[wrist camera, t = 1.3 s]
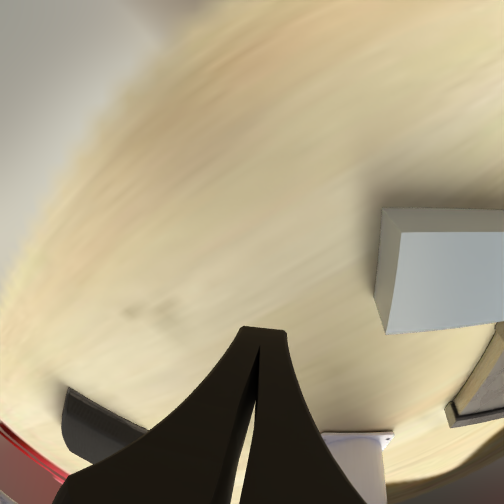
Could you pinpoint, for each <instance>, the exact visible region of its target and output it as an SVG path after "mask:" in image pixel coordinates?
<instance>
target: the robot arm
mask: <svg viewBox="0 0 504 504" xmlns="http://www.w3.org/2000/svg"><path fill="white" fill-rule="evenodd" d="M255 400H256V403H255ZM254 404H255V421H254V431H253V437H252V442H251V447H250V453H249V458H248V463H247V468H246V473H245V478H244V483H243V488H242V493H241V497H240V502H239V504H387V496H386V484H385V473H384V464H383V455H382V451H383V450H384V449H385V447H386V446H387V445H388V444H389V442H390V441H391V440H392V438H393V437H394V432H372V433H322V434H320V432H319V430H318V428H317V426H316V424H315V422H314V420H313V418H312V416H311V414H310V412H309V409H308V407H307V404H306V402H305V400H304V397H303V395H302V392H301V389H300V386H299V384H298V381H297V378H296V375H295V372H294V368H293V365H292V361H291V357H290V353H289V348H288V342H287V333H286V332H285V331H284V330H276V329H267V328H258V327H249V326H243V327H241V328H240V329H239V331H238V333H237V335H236V337H235V338H234V340H233V342H232V343H231V345H230V346H229V348H228V349H227V351H226V352H225V354H224V355H223V356H222V358H221V359H220V360H219V362H218V363H217V364H216V365H215V367H214V368H213V369H212V371H211V372H210V373H209V374H208V375H207V377H206V378H205V379H204V380H203V381H202V382H201V383H200V384H199V386H198V387H197V388H196V389H195V390H194V391H193V392H192V393H191V394H190V395H189V396H188V397H187V398H186V399H185V400H184V401H183V402H182V403H181V404H180V405H179V406H178V407H177V408H176V409H175V410H174V411H172V412H171V413H170V414H169V415H168V416H167V417H166V418H164V419H163V420H162V421H161V422H159V423H158V424H157V425H156V426H154V427H153V428H152V429H150V430H149V431H148V432H146V433H145V434H144V435H142V436H141V437H139V438H138V439H137V440H135V441H133V442H132V443H130V444H129V445H127V446H125V447H124V448H122V449H121V450H119V451H117V452H116V453H114V454H112V455H111V456H109V457H107V458H105V459H103V460H101V461H99V462H97V463H95V464H93V465H91V466H89V467H87V468H85V469H82V470H80V471H78V472H76V473H74V474H71V475H69V476H68V477H67V479H66V480H65V482H64V483H63V485H62V486H61V488H60V489H59V491H58V492H57V495H56V496H55V499H54V501H53V503H52V504H230V502H231V497H232V492H233V486H234V481H235V476H236V470H237V466H238V462H239V458H240V454H241V451H242V447H243V444H244V440H245V437H246V433H247V430H248V426H249V423H250V419H251V415H252V412H253V408H254ZM0 504H18V503H16V502H15V501H14V500H12V499H11V498H10V497H8V496H7V495H6V494H4V493H3V492H2V491H1V490H0Z"/></svg>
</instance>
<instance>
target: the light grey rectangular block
mask: <svg viewBox="0 0 504 504" xmlns="http://www.w3.org/2000/svg"><path fill="white" fill-rule="evenodd" d="M374 300H375V303H376V306H377V309H378V312H379V315H380V318H381V321H382V325H383V328H384V331H385V334H386V335H390V334H403V333H414V332H425V331H434V330H443V329H452V328H460V327H467V326H474V325H481V324H488V323H494V322H500V321H504V210H492V209H462V208H382V214H381V230H380V244H379V255H378V265H377V274H376V283H375V291H374Z"/></svg>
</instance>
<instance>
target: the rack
mask: <svg viewBox="0 0 504 504" xmlns="http://www.w3.org/2000/svg"><path fill="white" fill-rule="evenodd" d="M495 329H496V332H495V334H494V336H493V338H492V340H491V342H490V344H489V345H488V347H487V349H486V351H485V352H484V354H483V356H482V358H481V359H480V361H479V363H478V364H477V366H476V367H475V369H474V371H473V372H472V374H471V375H470V377H469V379H468V380H467V382H466V383H465V385H464V386H463V388H462V389H461V391H460V392H459V393H458V395H457V396H456V398H455V399H454V402H449V404H448V405H447V406H446V408H445V409H444V410H445V413H446V416H447V420H448V423H449V427H450V428H455V427H461V426H467V425H472V424H477V423H482V422H487V421H491V420H495V419H500V418H504V321H500V322H498V323H497V325H496V326H495Z"/></svg>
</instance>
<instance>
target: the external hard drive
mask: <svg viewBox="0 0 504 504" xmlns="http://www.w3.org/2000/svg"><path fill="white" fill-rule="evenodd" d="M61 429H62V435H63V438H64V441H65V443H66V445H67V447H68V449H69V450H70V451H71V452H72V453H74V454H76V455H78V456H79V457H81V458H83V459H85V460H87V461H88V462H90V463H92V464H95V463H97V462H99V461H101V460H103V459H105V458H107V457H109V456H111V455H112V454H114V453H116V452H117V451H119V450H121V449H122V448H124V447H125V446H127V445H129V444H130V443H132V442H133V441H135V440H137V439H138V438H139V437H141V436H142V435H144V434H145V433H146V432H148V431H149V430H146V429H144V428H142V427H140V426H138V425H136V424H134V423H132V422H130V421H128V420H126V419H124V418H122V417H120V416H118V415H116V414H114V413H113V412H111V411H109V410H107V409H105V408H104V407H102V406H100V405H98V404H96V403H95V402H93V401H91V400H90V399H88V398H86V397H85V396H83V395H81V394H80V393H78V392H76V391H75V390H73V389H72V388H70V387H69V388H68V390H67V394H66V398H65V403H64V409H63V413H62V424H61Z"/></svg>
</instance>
